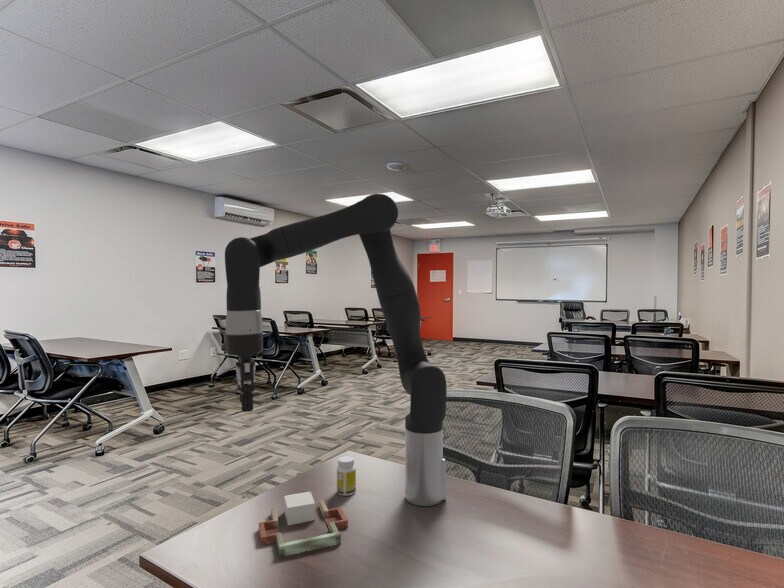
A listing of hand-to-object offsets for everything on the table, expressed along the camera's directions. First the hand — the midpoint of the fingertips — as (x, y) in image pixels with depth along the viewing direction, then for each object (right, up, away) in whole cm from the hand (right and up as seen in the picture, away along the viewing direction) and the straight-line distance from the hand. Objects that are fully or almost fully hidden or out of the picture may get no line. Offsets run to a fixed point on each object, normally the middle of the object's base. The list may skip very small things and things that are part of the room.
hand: (246, 406), depth 93 cm
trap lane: (+13, -26, -1) cm, 29 cm away
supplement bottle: (+20, -26, +16) cm, 37 cm away
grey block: (+11, -26, +4) cm, 29 cm away
